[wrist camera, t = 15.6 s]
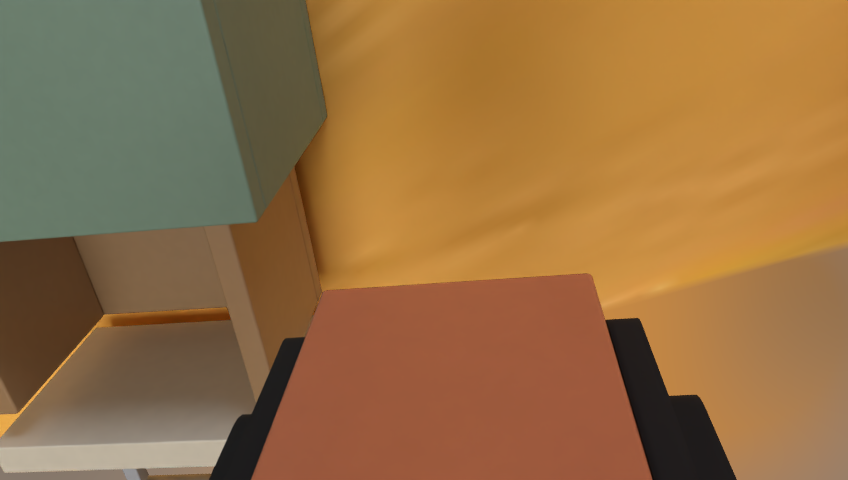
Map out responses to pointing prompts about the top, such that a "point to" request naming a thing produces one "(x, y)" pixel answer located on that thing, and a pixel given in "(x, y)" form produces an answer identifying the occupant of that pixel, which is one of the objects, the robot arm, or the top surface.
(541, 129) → the top surface
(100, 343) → the drawer
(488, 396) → the block
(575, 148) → the top surface
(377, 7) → the top surface
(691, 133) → the top surface
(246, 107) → the cabinet
